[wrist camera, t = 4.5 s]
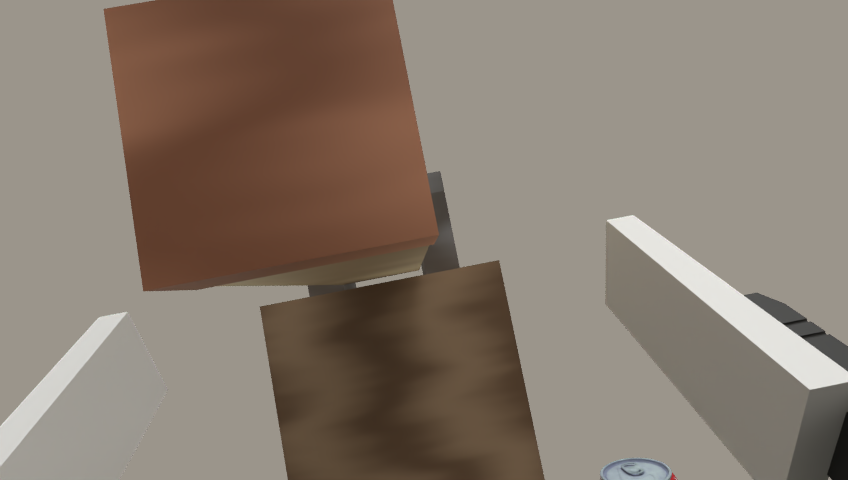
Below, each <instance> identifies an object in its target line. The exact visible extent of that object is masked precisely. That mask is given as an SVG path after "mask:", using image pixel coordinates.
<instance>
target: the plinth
mask: <svg viewBox="0 0 848 480" xmlns="http://www.w3.org/2000/svg"><path fill="white" fill-rule="evenodd" d="M427 176H428V182H429V187H430V192H431V197H432V202H433V207H434V212H435V217H436V222H437V227H438V232H439V236H438V238H437V240H436V242H435V243H434V244H433V245H429V247H428V250H427V252H426V254H425V257H424V259H423V262H422V264H421V265H422V270H423V275H421V276H416V277H411V278H405V279H401V280H395V281H390V282H385V283H380V284H374V285H369V286H364V287H359V288H356V284H355V283H350V284H345V285H308V289H309V295H310V297H307V298H302V299H297V300H292V301H287V302H282V303H277V304H271V305H267V306H261V307H260V310H261V316H262V322H263V329H264V335H265V341H266V347H267V353H268V359H269V366H270V372H271V378H272V383H273V390H274V396H275V403H276V409H277V414H278V421H279V427H280V433H281V440H282V445H283V452H284V458H285V464H286V471H287V476H288V480H545V479H544V475H543V470H542V465H541V460H540V456H539V450H538V446H537V441H536V436H535V431H534V426H533V422H532V417H531V412H530V408H529V402H528V398H527V393H526V388H525V383H524V379H523V374H522V369H521V364H520V359H519V354H518V349H517V345H516V340H515V335H514V331H513V325H512V321H511V316H510V311H509V306H508V302H507V297H506V292H505V287H504V282H503V277H502V273H501V268H500V263H499V261H493V262H488V263H482V264H477V265H472V266H467V267H462V268H459V263H458V258H457V253H456V248H455V243H454V238H453V233H452V228H451V223H450V218H449V213H448V208H447V203H446V198H445V193H444V188H443V183H442V178H441V173H440V171H439V172H433V173H428V174H427Z"/></svg>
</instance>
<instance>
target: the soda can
mask: <svg viewBox="0 0 848 480" xmlns="http://www.w3.org/2000/svg"><path fill="white" fill-rule="evenodd" d="M600 475H601V478H600V480H677V478H676V477H675V476H674V474H673V473H672V471H671V469H670V467H669V466H667V465H666V464H664V463H662V462H660V461H657V460H653V459H647V458H627V459H621V460H617V461H614V462H611V463H609V464H607V465H606V466H604V467H603V468H602V470H601V472H600Z"/></svg>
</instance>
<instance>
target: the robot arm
mask: <svg viewBox="0 0 848 480" xmlns="http://www.w3.org/2000/svg"><path fill="white" fill-rule="evenodd" d="M605 303H606V305H607V306H608V307H609V309H610V310H611V311H612V312H613V313H614V314H615V316H616V317H617V318H618V319H619V320H620V322H621V323H622V324H623V325H624V326H625V328H626V329H627V330H628V331H629V332H630V333H631V335H632V336H633V337H634V338H635V339H636V341H637V342H638V343H639V344H640V345H641V347H642V348H643V349H644V350H645V351H646V352H647V354H648V355H649V356H650V357H651V358H652V359H653V361H654V362H655V363H656V364H657V365H658V367H659V368H660V369H661V370H662V371H663V373H664V374H665V375H666V376H667V377H668V379H669V380H670V381H671V382H672V383H673V384H674V386H675V387H676V388H677V389H678V390H679V392H680V393H681V394H682V395H683V396H684V397H685V398H686V400H687V401H688V402H689V403H690V405H691V406H692V407H693V408H694V409H695V411H696V412H697V413H698V414H699V415H700V417H701V418H702V419H703V420H704V421H705V422H706V424H707V425H708V426H709V427H710V428H711V429H712V431H713V432H714V433H715V434H716V436H717V437H718V438H719V439H720V440H721V441H722V443H723V444H724V445H725V446H726V447H727V449H728V450H729V451H730V452H731V453H732V455H733V456H734V457H735V458H736V459H737V460H738V462H739V463H740V464H741V465H742V466H743V468H744V469H745V470H746V471H747V472H748V473H749V475H750V476H751V477H752V478H753V479H754V480H828V477H830V478H831V479H832V480H848V346H846V345H845V344H843V343H842V342H840V341H839V340H837V339H836V338H835V337H833V336H831V335H830V334H829V335H826V333H825V331H824V330H823V329H821V328H820V327H818V326H817V325H815V324H814V323H812V322H807V319H806V318H805V317H803V316H802V315H801V314H799V313H798V312H796V311H795V310H793V309H792V308H790V307H789V306H787V305H786V304H784V303H782V302H779V301H777V300H774V299H771V298H769V297H766V296H764V295H761V294H759V293H754V294H748V295H742V294H741V293H739V292H738V291H737V290H735V289H734V288H733V287H731V286H730V285H728V284H727V283H726V282H724V281H723V280H722V279H720V278H719V277H718V276H716V275H715V274H713V273H712V272H711V271H709V270H708V269H707V268H705V267H704V266H702V265H701V264H700V263H698V262H697V261H696V260H694V259H693V258H691V257H690V256H689V255H687V254H686V253H685V252H683V251H682V250H681V249H679V248H678V247H676V246H675V245H674V244H672V243H671V242H670V241H668V240H667V239H665V238H664V237H663V236H661V235H660V234H658V233H657V232H656V231H654V230H653V229H652V228H650V227H649V226H648V225H646V224H645V223H643V222H642V221H641V220H639V219H638V218H637V217H635V216H634V215H631V216H626V217H621V218H616V219H611V220H606V299H605ZM167 391H168V389H167V387H166V385H165V383H164V381H163V379H162V377H161V375H160V373H159V371H158V369H157V367H156V365H155V363H154V362H153V360H152V358H151V356H150V354H149V352H148V350H147V348H146V346H145V344H144V342H143V340H142V338H141V336H140V335H139V332H138V331H137V328H136V327H135V325H134V323H133V321H132V319H131V317H130V315H129V313H128V312H124V313H119V314H113V315H108V316H103V317H99V318H98V319H97V320H96V321H95V322H94V323H93V324H92V326H91V327H90V328H89V329H88V330H87V331H86V332H85V333H84V334H83V336H82V337H81V338H80V339H79V340H78V341H77V342H76V343H75V344H74V345H73V347H72V348H71V349H70V350H69V351H68V352H67V353H66V354H65V355H64V356H63V358H62V359H61V360H60V361H59V362H58V363H57V364H56V365H55V367H54V368H53V369H52V370H51V371H50V372H49V373H48V374H47V375H46V376H45V378H44V379H43V380H42V381H41V382H40V383H39V384H38V385H37V386H36V387H35V388H34V390H33V391H32V392H31V393H30V394H29V395H28V396H27V397H26V398H25V400H24V401H23V402H22V403H21V404H20V405H19V406H18V407H17V408H16V409H15V411H14V412H13V413H12V414H11V415H10V416H9V417H8V418H7V419H6V421H5V422H4V423H3V424H2V425H1V426H0V480H120V478H121V476H122V474H123V472H124V470H125V469H126V466H127V465H128V463H129V461H130V459H131V457H132V456H133V454H134V452H135V450H136V448H137V446H138V444H139V443H140V441H141V439H142V437H143V435H144V433H145V432H146V430H147V428H148V426H149V424H150V422H151V420H152V419H153V417H154V415H155V413H156V411H157V409H158V407H159V406H160V404H161V402H162V400H163V398H164V396H165V394H166V393H167Z"/></svg>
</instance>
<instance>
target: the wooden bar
mask: <svg viewBox="0 0 848 480" xmlns="http://www.w3.org/2000/svg"><path fill="white" fill-rule="evenodd" d="M104 15H105V21H106V29H107V36H108V43H109V50H110V57H111V64H112V71H113V78H114V85H115V93H116V99H117V107H118V114H119V121H120V128H121V135H122V142H123V149H124V157H125V163H126V171H127V178H128V185H129V192H130V200H131V206H132V214H133V220H134V228H135V235H136V242H137V249H138V256H139V263H140V270H141V278H142V285H143V291H169V290H170V291H171V290H198V289H204V288H209V287H214V286H278V285H279V286H288V285H345V284H350V283H355V282H360V281H365V280H371V279H375V278H381V277H386V276H392V275H397V274H402V273H407V272H411V271H417V270H419V269H420V266H421V264H422V262H423V259H424V257H425V254H426V252H427V250H428V247H429V245H433V244H434V243H435V242H436V240H437V238H438V236H439V232H438V227H437V222H436V217H435V212H434V207H433V202H432V197H431V192H430V187H429V182H428V176H427V171H426V166H425V161H424V156H423V151H422V146H421V141H420V136H419V132H418V126H417V121H416V116H415V111H414V106H413V101H412V96H411V91H410V85H409V80H408V75H407V70H406V66H405V61H404V56H403V50H402V46H401V40H400V35H399V30H398V25H397V20H396V15H395V10H394V5H393V0H155V1H149V2H143V3H137V4H131V5H125V6H119V7H113V8H107V9H104Z"/></svg>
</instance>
